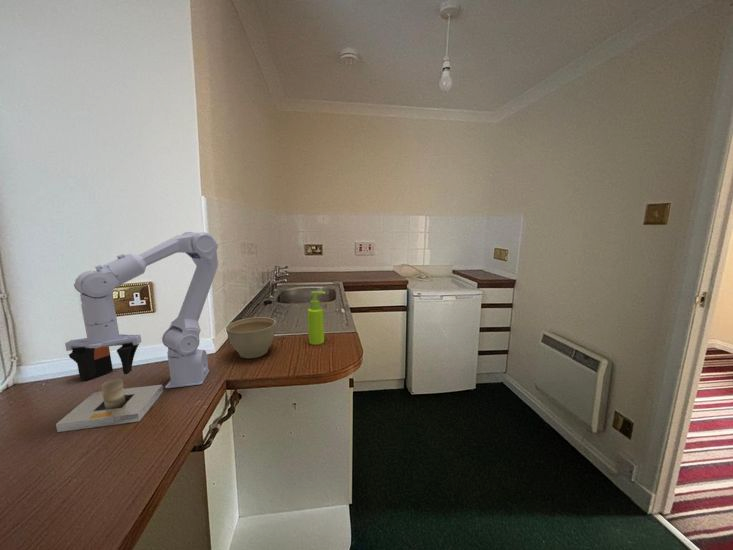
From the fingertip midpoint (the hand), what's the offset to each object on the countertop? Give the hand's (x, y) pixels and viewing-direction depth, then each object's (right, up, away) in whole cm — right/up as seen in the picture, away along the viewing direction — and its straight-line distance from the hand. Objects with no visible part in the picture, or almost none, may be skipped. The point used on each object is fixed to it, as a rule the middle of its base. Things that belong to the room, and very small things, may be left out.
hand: (110, 374), depth 73 cm
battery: (-20, -7, +19) cm, 28 cm away
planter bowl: (+23, -4, +33) cm, 40 cm away
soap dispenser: (+44, -2, +43) cm, 62 cm away
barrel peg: (0, -9, +1) cm, 9 cm away
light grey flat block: (0, -9, +1) cm, 9 cm away
